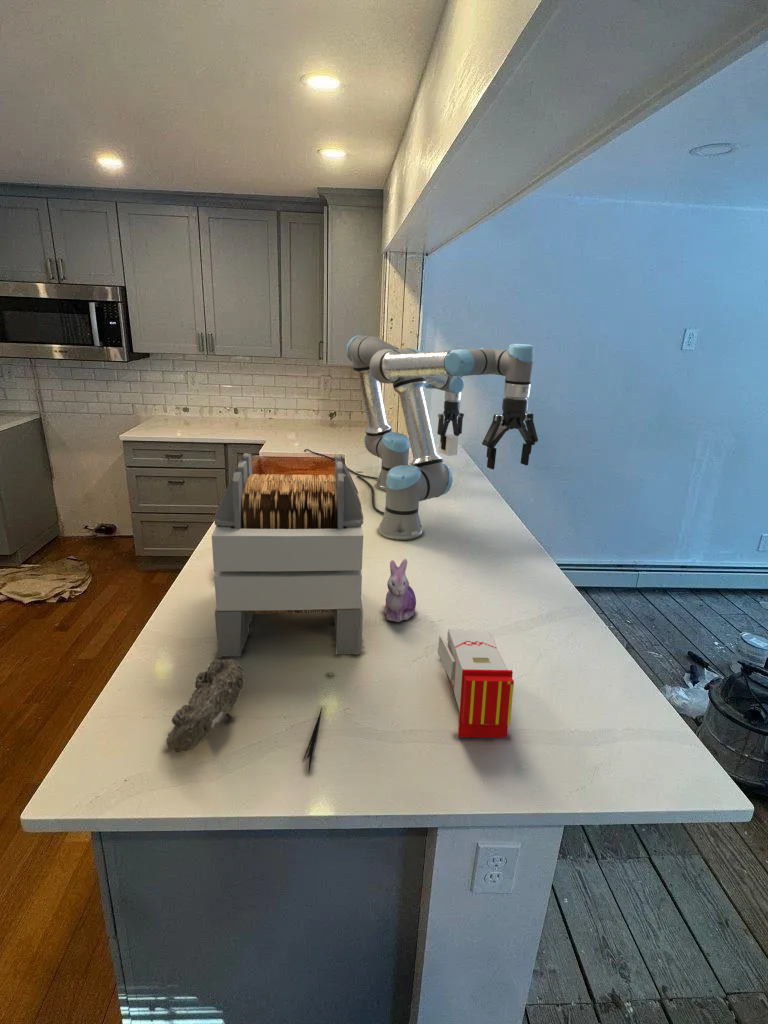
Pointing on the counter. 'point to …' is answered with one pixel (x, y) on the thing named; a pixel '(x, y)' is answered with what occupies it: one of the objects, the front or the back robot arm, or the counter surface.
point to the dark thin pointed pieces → (313, 740)
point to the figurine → (399, 594)
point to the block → (450, 445)
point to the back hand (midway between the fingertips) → (448, 448)
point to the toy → (478, 682)
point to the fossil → (206, 705)
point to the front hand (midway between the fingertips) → (507, 466)
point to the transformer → (288, 552)
